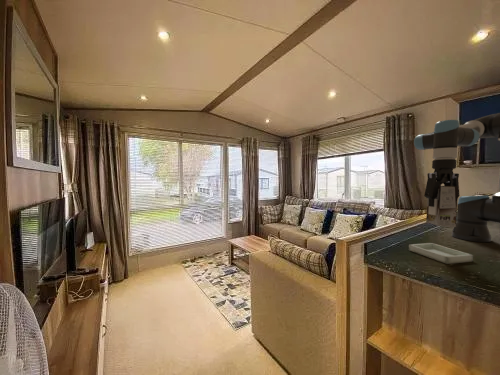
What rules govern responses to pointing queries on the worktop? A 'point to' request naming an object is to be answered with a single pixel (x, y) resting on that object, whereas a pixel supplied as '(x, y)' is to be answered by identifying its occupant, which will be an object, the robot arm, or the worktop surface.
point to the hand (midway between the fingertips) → (440, 214)
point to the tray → (441, 253)
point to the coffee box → (444, 207)
